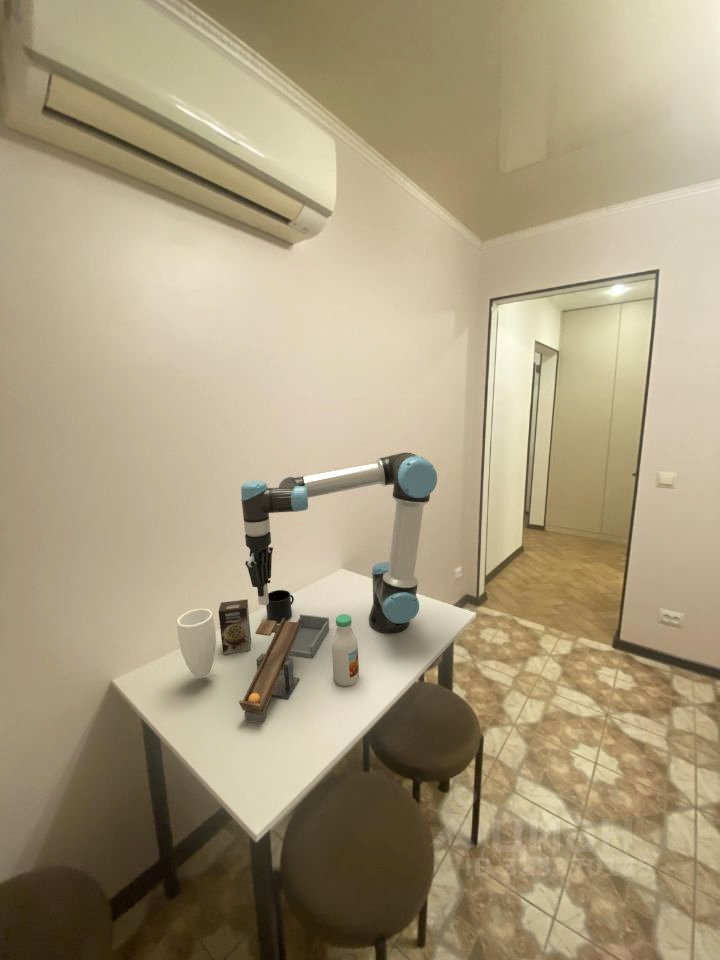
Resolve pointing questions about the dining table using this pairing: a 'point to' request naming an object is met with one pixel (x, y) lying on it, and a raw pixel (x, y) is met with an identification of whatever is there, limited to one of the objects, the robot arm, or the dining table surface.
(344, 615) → the milk bottle
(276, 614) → the mug
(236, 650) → the coffee box
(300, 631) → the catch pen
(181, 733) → the dining table surface
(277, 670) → the lever
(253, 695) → the ball
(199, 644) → the cup
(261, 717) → the block
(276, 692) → the fulcrum
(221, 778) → the dining table surface
